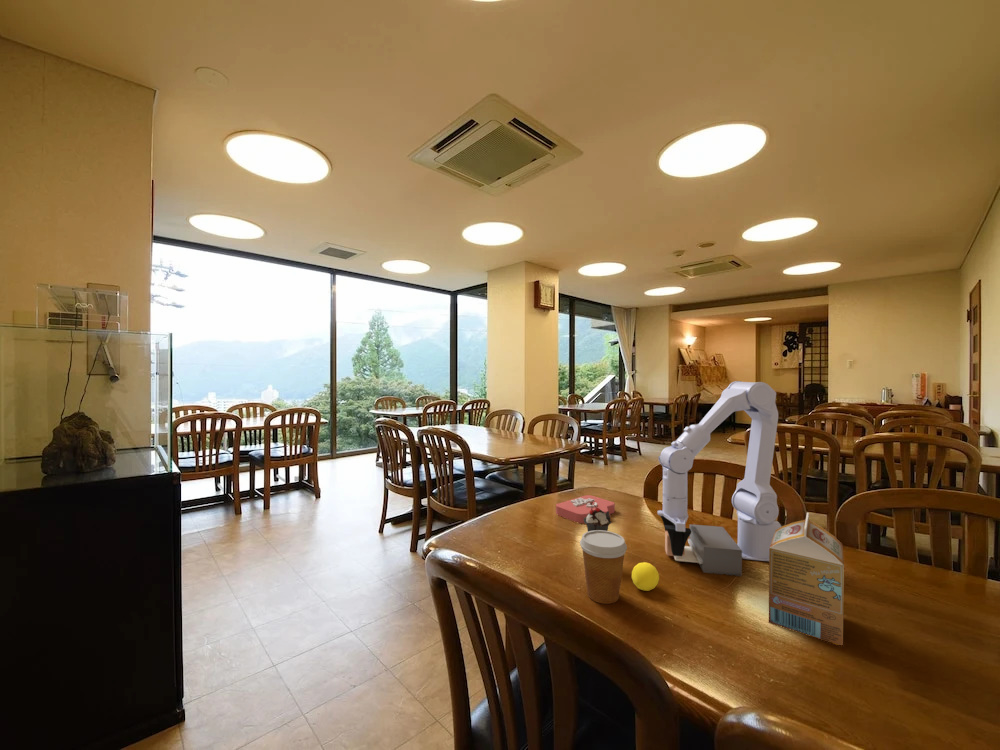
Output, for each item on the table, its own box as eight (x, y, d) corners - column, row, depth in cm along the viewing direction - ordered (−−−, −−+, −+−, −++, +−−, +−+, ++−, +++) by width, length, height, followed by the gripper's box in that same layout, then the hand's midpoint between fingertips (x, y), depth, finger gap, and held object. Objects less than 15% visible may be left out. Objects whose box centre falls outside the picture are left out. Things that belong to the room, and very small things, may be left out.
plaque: (589, 516, 121) (553, 503, 133) (589, 528, 121) (553, 514, 133) (624, 503, 132) (588, 492, 144) (624, 515, 132) (588, 503, 144)
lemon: (649, 601, 83) (647, 576, 83) (626, 590, 87) (624, 567, 87) (666, 585, 88) (664, 561, 87) (643, 575, 92) (641, 553, 91)
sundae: (580, 564, 98) (580, 502, 98) (587, 553, 104) (587, 495, 104) (607, 570, 95) (607, 507, 95) (613, 558, 101) (614, 498, 101)
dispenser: (722, 549, 106) (722, 526, 106) (741, 576, 92) (741, 550, 92) (687, 546, 108) (687, 524, 108) (700, 572, 94) (700, 546, 94)
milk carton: (774, 597, 84) (775, 506, 83) (841, 617, 77) (842, 518, 77) (768, 622, 75) (769, 521, 75) (842, 647, 69) (844, 536, 68)
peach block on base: (719, 551, 103) (719, 531, 103) (730, 565, 95) (730, 544, 95) (663, 545, 106) (663, 527, 106) (668, 559, 98) (669, 539, 98)
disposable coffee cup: (621, 584, 89) (621, 530, 89) (631, 610, 79) (631, 549, 79) (577, 582, 90) (577, 528, 90) (582, 607, 80) (582, 547, 80)
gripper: (653, 486, 110) (653, 536, 110) (662, 503, 95) (662, 560, 96) (681, 487, 108) (681, 538, 108) (695, 505, 94) (694, 563, 94)
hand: (674, 549), depth 102 cm, fingers open, 6 cm apart
